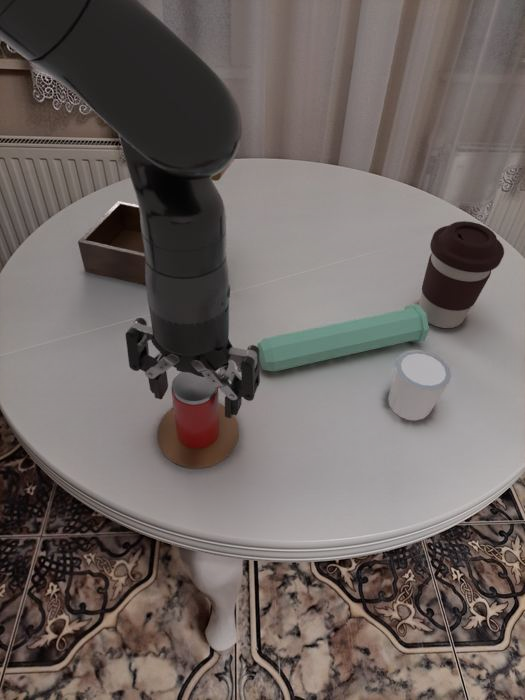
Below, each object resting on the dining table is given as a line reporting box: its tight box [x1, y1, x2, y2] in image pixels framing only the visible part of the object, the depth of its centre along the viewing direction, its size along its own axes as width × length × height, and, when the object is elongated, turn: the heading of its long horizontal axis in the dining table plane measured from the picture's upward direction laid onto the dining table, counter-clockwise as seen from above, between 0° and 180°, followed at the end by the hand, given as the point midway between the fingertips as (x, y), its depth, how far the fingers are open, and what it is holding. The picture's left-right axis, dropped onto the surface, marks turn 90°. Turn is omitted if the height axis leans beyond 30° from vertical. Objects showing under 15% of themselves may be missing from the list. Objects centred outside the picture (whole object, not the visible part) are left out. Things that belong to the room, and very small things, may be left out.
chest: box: [77, 200, 146, 286], centre depth 86 cm, size 16×14×6 cm
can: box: [171, 371, 220, 449], centre depth 60 cm, size 5×5×9 cm
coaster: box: [156, 403, 240, 470], centre depth 63 cm, size 10×10×1 cm
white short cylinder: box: [387, 349, 452, 422], centre depth 66 cm, size 7×7×7 cm
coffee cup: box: [418, 220, 505, 329], centre depth 76 cm, size 10×10×15 cm
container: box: [256, 303, 430, 372], centre depth 73 cm, size 6×6×25 cm
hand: (196, 402), depth 59 cm, fingers open, 8 cm apart
